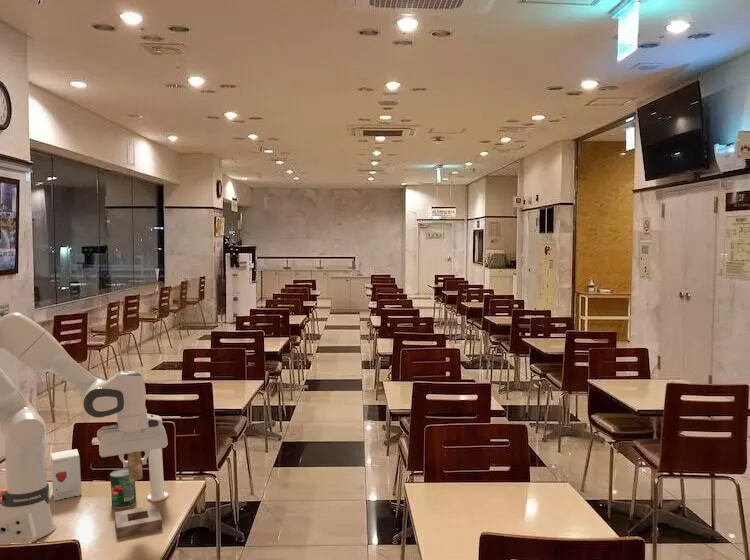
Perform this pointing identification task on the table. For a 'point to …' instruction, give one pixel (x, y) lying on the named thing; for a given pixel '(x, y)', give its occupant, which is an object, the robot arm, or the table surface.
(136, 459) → the wick peg
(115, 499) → the canned tomato
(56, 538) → the table surface
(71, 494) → the supplement box
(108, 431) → the robot arm
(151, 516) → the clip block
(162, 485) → the candle
